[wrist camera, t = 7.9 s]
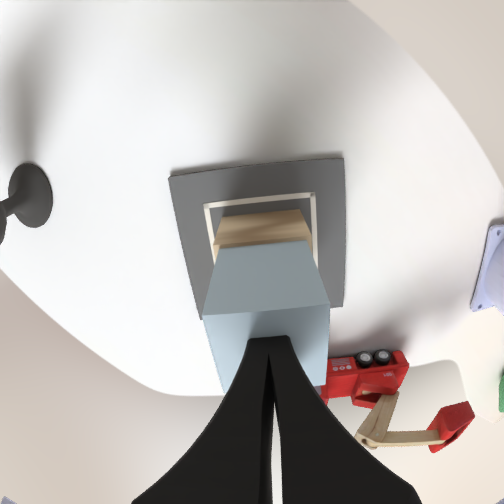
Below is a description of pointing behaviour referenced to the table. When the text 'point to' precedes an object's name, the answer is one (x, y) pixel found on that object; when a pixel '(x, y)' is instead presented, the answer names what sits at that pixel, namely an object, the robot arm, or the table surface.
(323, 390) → the toy fire truck
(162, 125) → the table surface
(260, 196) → the grey square pad
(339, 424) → the robot arm
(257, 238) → the beech block
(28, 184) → the sundae
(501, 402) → the alien toy
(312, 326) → the bluegrey block
